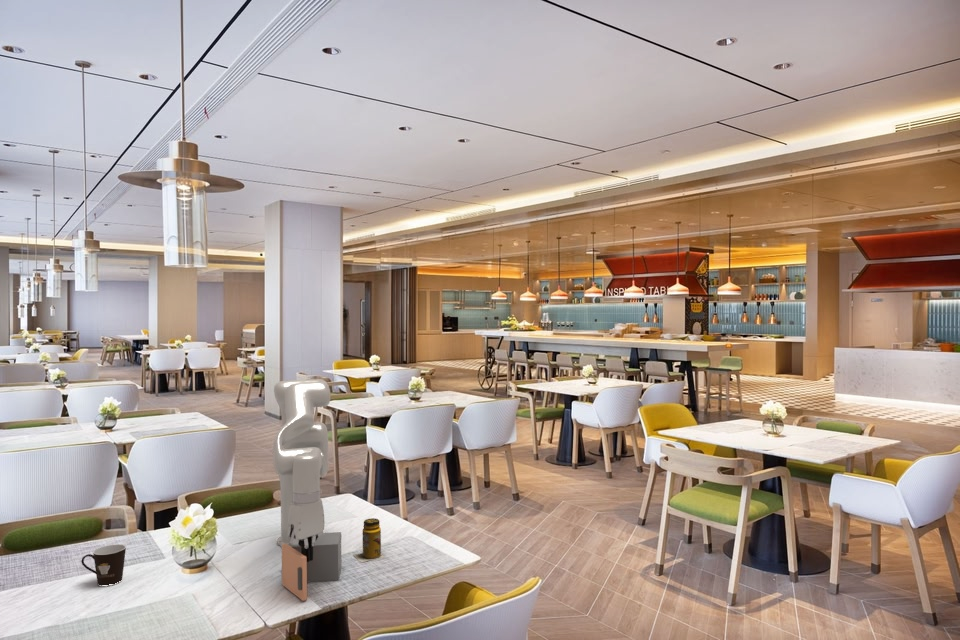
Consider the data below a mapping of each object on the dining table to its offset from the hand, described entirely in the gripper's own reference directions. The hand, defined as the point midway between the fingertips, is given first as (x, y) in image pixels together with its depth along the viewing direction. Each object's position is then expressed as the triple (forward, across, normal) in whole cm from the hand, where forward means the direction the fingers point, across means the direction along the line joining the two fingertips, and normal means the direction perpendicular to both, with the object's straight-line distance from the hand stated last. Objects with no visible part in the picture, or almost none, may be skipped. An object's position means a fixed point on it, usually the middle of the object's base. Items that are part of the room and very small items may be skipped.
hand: (307, 559), depth 178 cm
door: (+9, +2, -4) cm, 11 cm away
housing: (+10, -10, -9) cm, 17 cm away
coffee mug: (+11, +30, -58) cm, 66 cm away
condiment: (+11, -30, -7) cm, 33 cm away
